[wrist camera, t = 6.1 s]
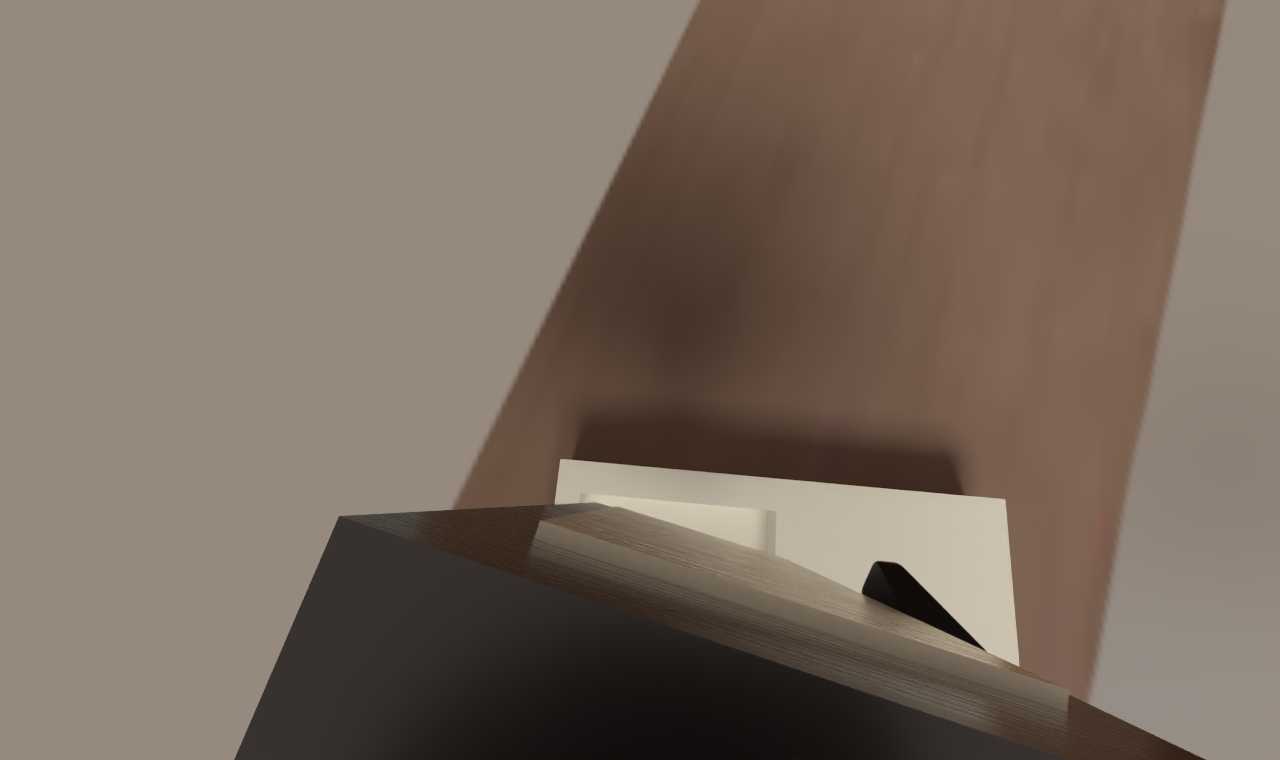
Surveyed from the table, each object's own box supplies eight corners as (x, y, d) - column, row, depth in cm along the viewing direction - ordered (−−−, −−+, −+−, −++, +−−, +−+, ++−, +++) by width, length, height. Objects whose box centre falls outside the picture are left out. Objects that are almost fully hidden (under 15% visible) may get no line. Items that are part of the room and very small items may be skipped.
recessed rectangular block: (976, 671, 20) (1021, 696, 17) (550, 624, 21) (536, 641, 18) (965, 498, 21) (1005, 499, 19) (570, 463, 22) (560, 458, 20)
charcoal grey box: (768, 674, 13) (1675, 2086, 1) (564, 604, 14) (44, 1202, 2) (792, 558, 14) (1533, 877, 2) (597, 497, 14) (350, 491, 3)
